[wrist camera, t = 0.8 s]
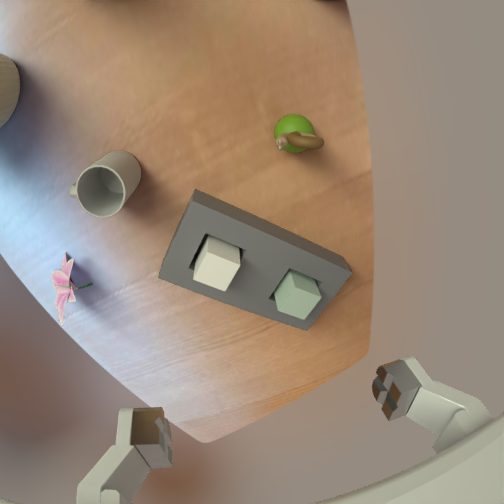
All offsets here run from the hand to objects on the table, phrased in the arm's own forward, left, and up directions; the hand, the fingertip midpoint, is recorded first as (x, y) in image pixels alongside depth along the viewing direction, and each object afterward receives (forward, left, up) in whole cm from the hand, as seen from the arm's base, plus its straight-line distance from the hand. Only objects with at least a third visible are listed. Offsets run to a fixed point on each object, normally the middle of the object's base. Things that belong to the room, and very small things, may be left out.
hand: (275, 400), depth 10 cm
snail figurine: (-6, +5, -39) cm, 40 cm away
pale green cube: (+15, +18, -36) cm, 43 cm away
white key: (+15, +4, -36) cm, 39 cm away
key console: (+15, +11, -39) cm, 43 cm away
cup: (+11, -16, -39) cm, 44 cm away
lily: (+32, -18, -40) cm, 54 cm away
